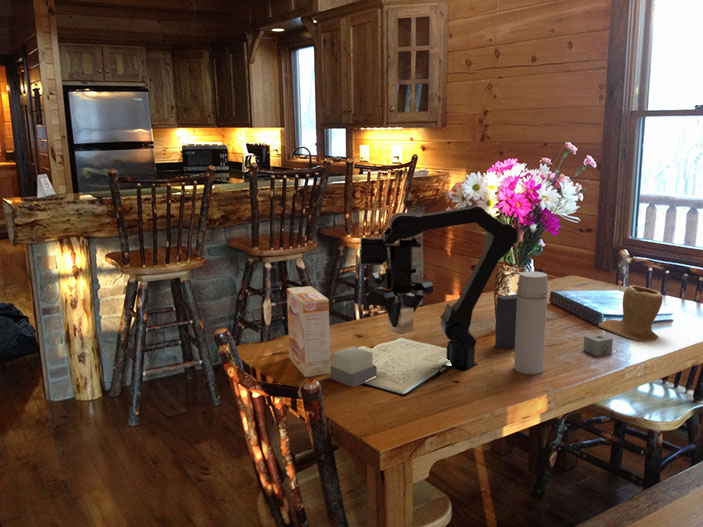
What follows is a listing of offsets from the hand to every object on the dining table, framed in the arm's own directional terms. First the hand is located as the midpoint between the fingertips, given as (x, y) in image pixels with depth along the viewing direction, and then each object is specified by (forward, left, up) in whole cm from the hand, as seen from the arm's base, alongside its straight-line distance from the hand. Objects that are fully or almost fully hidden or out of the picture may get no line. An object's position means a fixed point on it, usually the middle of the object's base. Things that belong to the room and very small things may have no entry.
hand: (400, 324), depth 162 cm
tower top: (+4, +13, -8) cm, 16 cm away
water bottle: (-24, -22, -12) cm, 35 cm away
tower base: (+4, +13, -12) cm, 18 cm away
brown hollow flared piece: (-31, -66, -12) cm, 74 cm away
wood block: (0, 0, -2) cm, 2 cm away
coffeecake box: (+18, +15, -12) cm, 27 cm away
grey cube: (-31, -44, -12) cm, 55 cm away
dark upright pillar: (-12, -34, -12) cm, 38 cm away
